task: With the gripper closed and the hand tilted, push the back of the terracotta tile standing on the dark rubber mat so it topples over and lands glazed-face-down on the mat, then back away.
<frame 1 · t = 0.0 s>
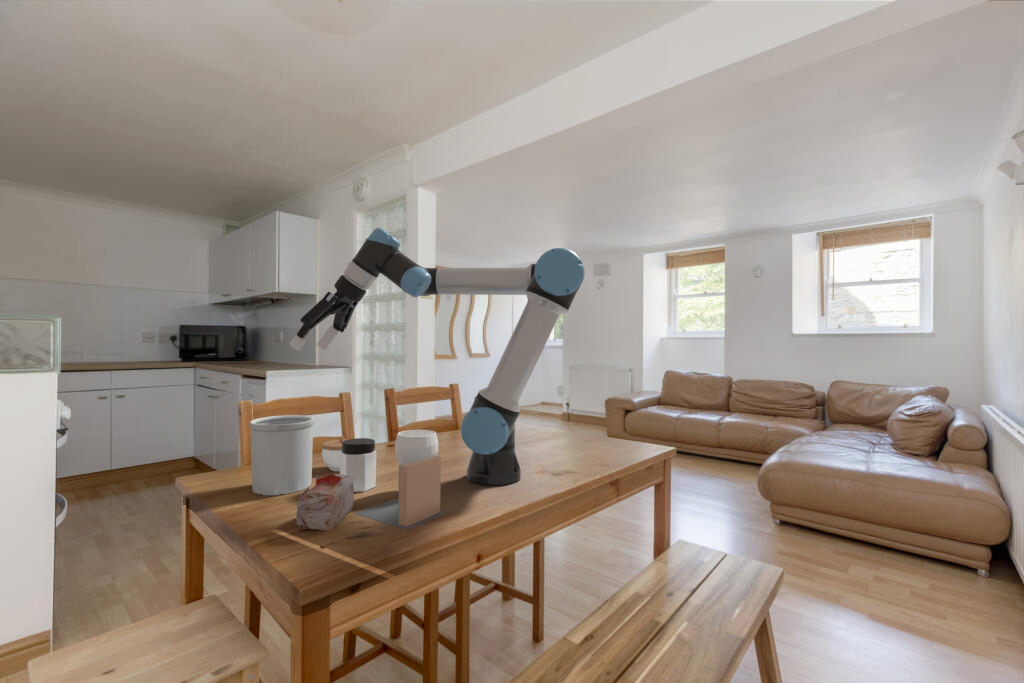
hand: (308, 347, 123), 36 cm above the table, tool tilted 35°, fingers open, 13 cm apart
food item: (327, 523, 98), on the table
utensil holder: (281, 488, 120), on the table
spatula: (351, 540, 89), on the table
lidded jar: (340, 469, 139), on the table
cup: (416, 494, 117), on the table
jar: (357, 488, 121), on the table
tile: (419, 518, 99), point 1 cm above the table, touching mat
mat: (401, 515, 102), on the table
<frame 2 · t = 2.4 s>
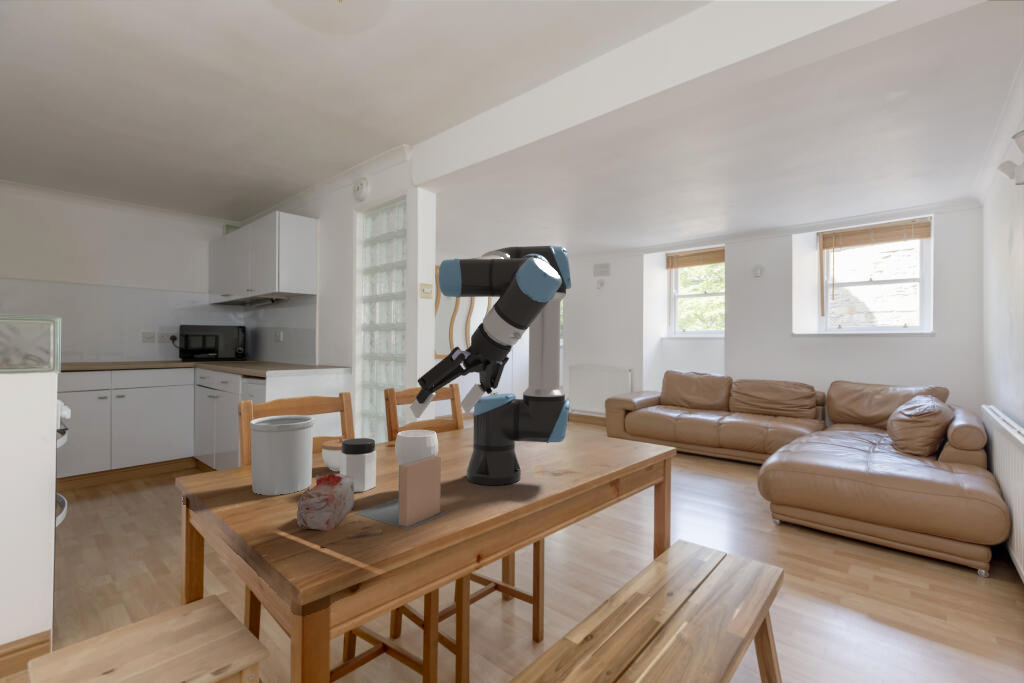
hand: (440, 410, 95), 24 cm above the table, tool tilted 45°, fingers open, 13 cm apart
nothing on the table moved.
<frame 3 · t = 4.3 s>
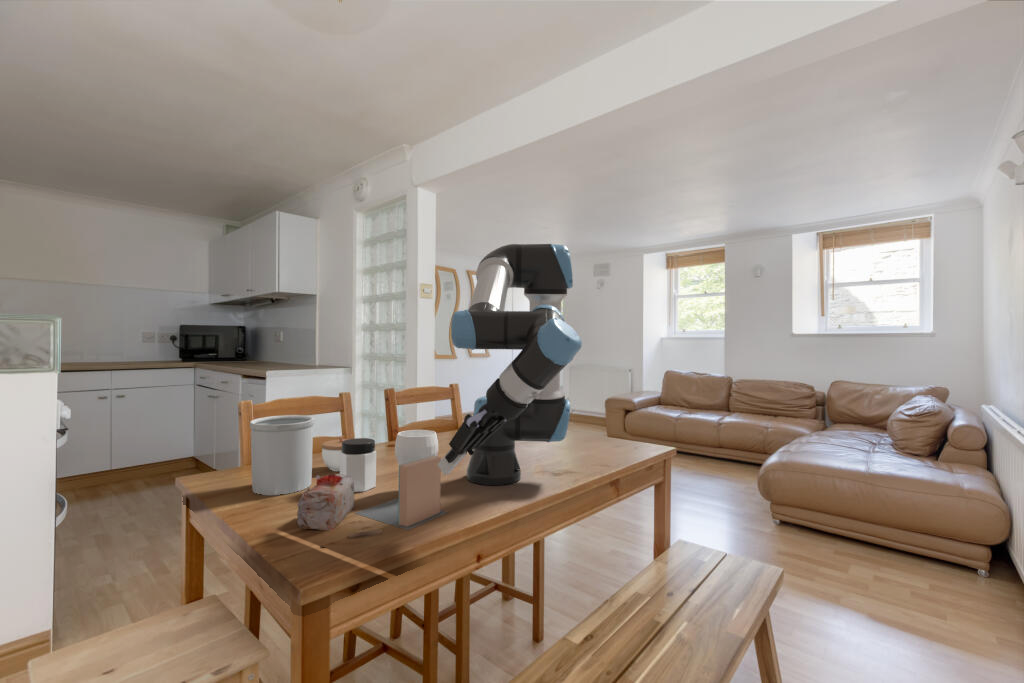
hand: (443, 468, 95), 12 cm above the table, tool tilted 45°, fingers closed
nothing on the table moved.
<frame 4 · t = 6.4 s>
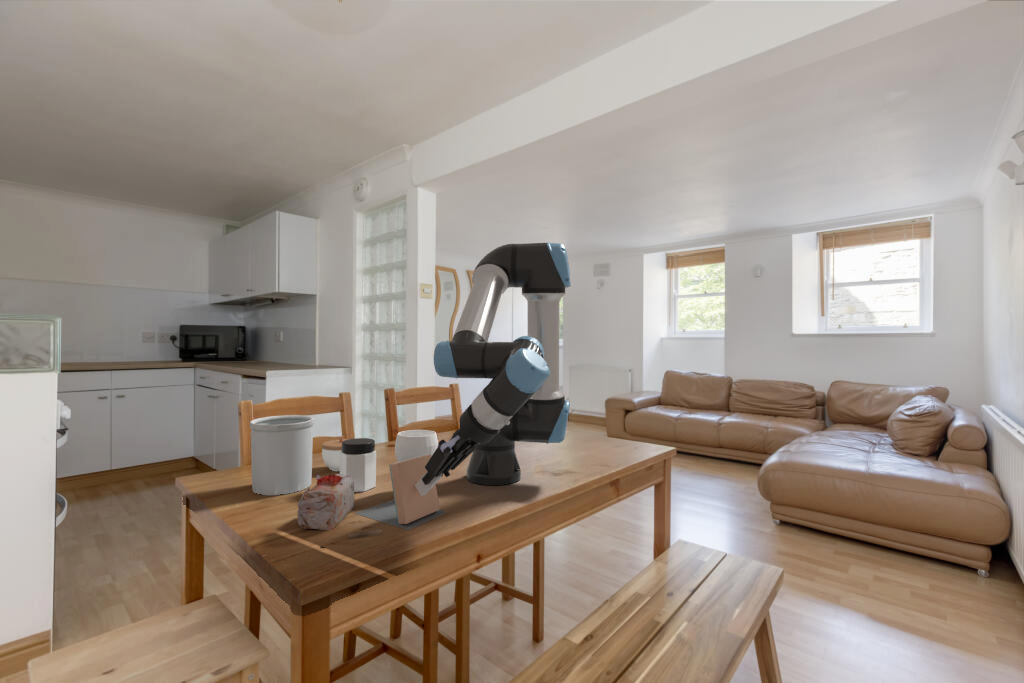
hand: (420, 489, 98), 7 cm above the table, tool tilted 45°, fingers closed
tile: (419, 516, 99), point 1 cm above the table, tilted 14°, touching mat
everything else where it was.
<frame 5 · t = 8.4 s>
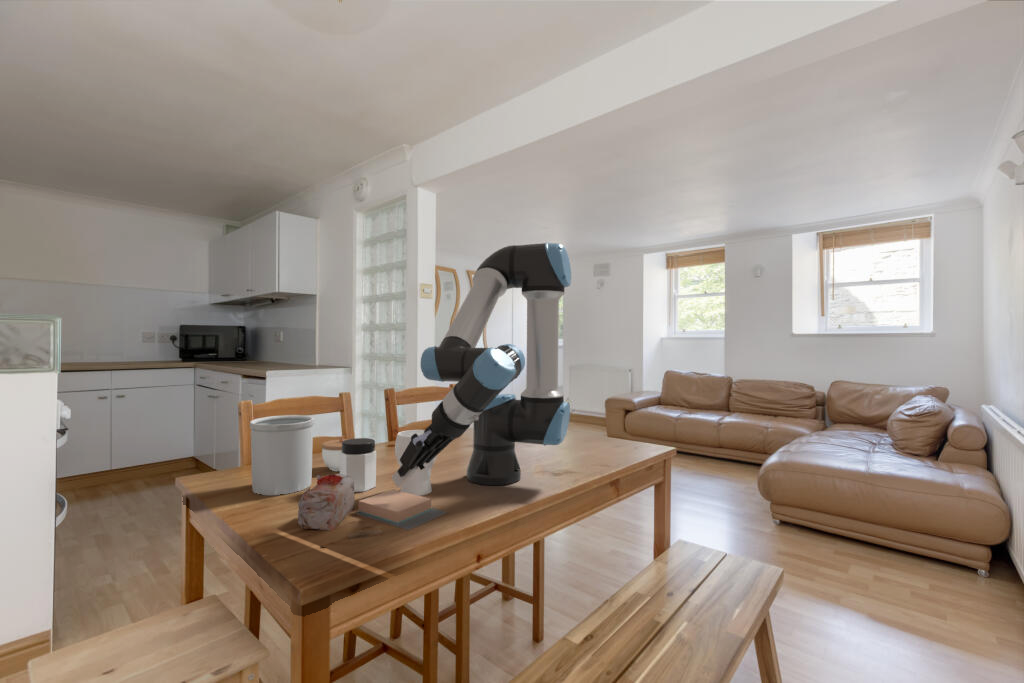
hand: (396, 481, 103), 7 cm above the table, tool tilted 45°, fingers closed
tile: (415, 510, 100), point 2 cm above the table, tilted 90°, touching mat
everything else where it was.
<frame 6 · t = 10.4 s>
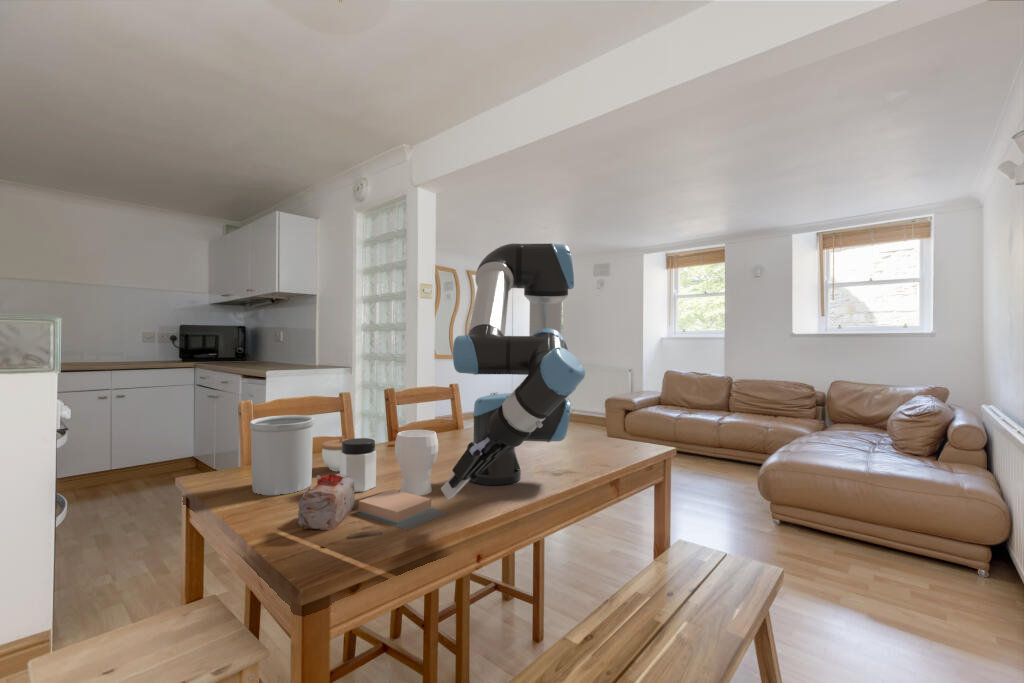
hand: (446, 493, 95), 7 cm above the table, tool tilted 45°, fingers closed
nothing on the table moved.
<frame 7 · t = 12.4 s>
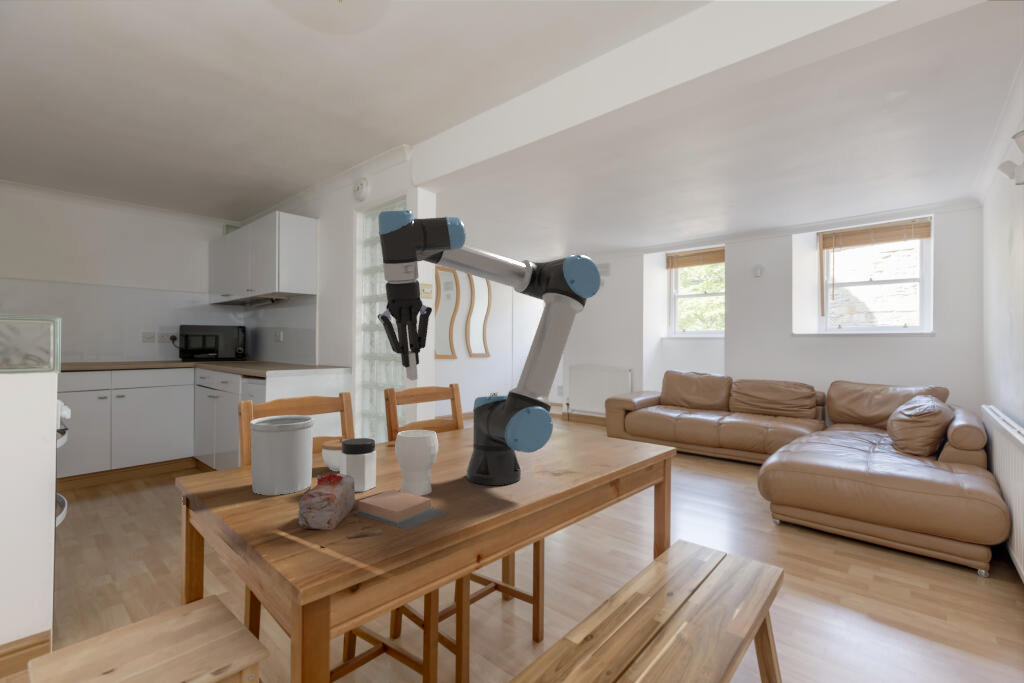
hand: (412, 378, 113), 29 cm above the table, tool tilted 15°, fingers closed
nothing on the table moved.
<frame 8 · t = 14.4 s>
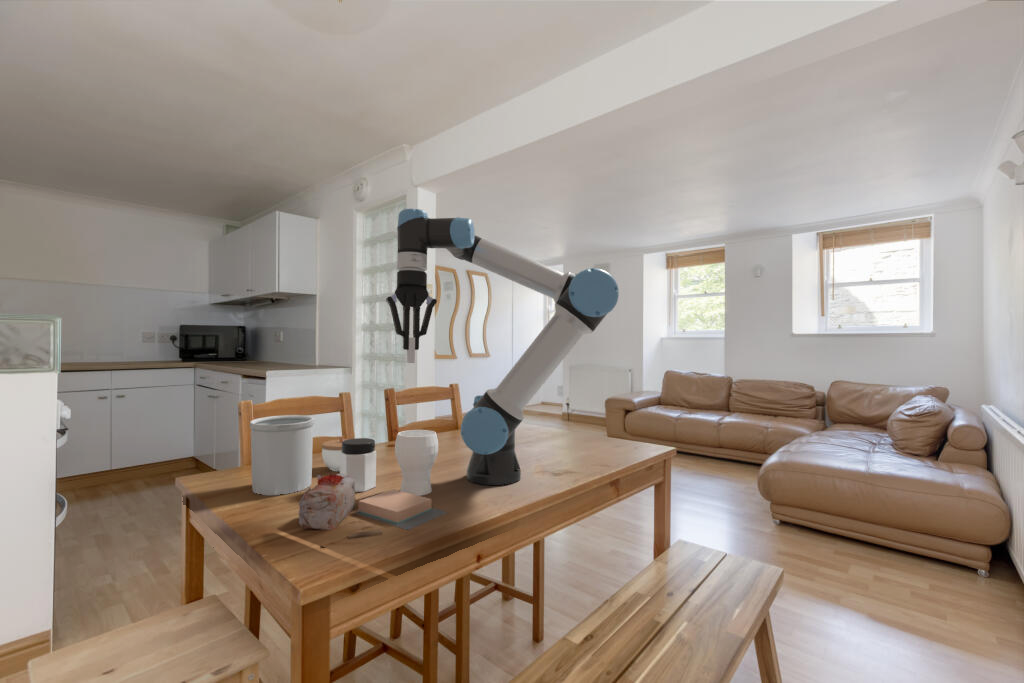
hand: (410, 362, 121), 32 cm above the table, tool pointing down, fingers closed
nothing on the table moved.
at the end: tile tilted 90°; tile 4.0 cm from the mat (horizontally); the gripper is holding nothing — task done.
